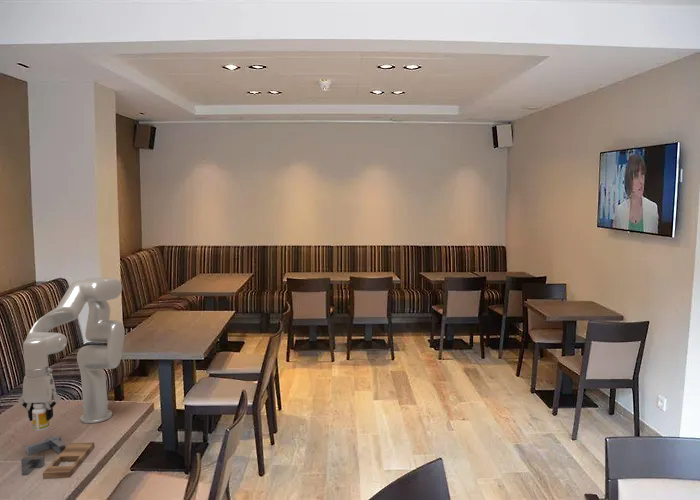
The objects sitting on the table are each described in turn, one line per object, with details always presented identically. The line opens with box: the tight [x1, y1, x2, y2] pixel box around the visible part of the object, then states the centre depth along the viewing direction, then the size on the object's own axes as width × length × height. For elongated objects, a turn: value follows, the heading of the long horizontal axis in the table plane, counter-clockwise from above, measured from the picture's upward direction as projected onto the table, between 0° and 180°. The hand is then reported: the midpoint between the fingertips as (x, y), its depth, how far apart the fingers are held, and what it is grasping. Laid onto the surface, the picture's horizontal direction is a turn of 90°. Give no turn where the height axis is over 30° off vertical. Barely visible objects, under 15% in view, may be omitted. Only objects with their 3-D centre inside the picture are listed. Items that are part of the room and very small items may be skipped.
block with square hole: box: [42, 441, 95, 479], centre depth 209 cm, size 22×9×2 cm, turn 3°
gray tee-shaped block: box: [20, 455, 45, 476], centre depth 204 cm, size 7×7×3 cm
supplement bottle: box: [32, 403, 51, 432], centre depth 213 cm, size 5×5×10 cm
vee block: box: [25, 435, 66, 457], centre depth 219 cm, size 9×14×3 cm, turn 93°
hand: (41, 418), depth 213 cm, fingers closed on supplement bottle, 5 cm apart
